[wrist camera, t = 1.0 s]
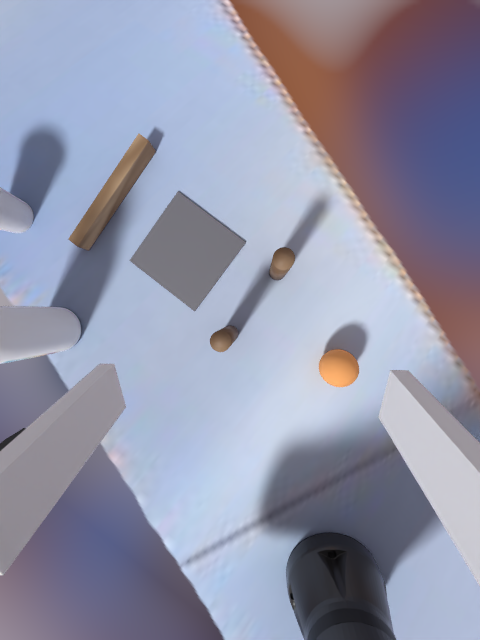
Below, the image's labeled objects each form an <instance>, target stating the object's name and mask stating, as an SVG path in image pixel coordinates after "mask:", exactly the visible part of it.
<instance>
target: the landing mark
mask: <svg viewBox="0 0 480 640" xmlns="http://www.w3.org/2000/svg"><path fill="white" fill-rule="evenodd" d="M245 243H246V242H245V241H243V240H242V239H241V238H239V237H238V236H237V235H235V234H234V233H233V232H231V231H230V230H229V229H227V228H226V227H225V226H223V225H222V224H221V223H219V222H218V221H217V220H216V219H214V218H213V217H212V216H210V215H209V214H208V213H206V212H205V211H204V210H202V209H201V208H200V207H198V206H197V205H196V204H194V203H193V202H192V201H190V200H189V199H188V198H186V197H185V196H184V195H182V194H181V193H180V192H177V193H176V195H175V196H174V198H173V199H172V201H171V202H170V204H169V205H168V206H167V208H166V209H165V211H164V212H163V214H162V215H161V216H160V218H159V219H158V221H157V222H156V224H155V225H154V226H153V228H152V229H151V231H150V232H149V234H148V235H147V236H146V238H145V239H144V241H143V242H142V244H141V245H140V246H139V248H138V249H137V251H136V252H135V254H134V255H133V256H132V258H131V259H130V261H131V262H132V263H133V264H135V265H136V266H137V267H138V268H140V269H141V270H142V271H144V272H145V273H146V274H147V275H149V276H150V277H151V278H153V279H154V280H155V281H156V282H158V283H159V284H160V285H162V286H163V287H164V288H165V289H167V290H168V291H169V292H171V293H172V294H173V295H174V296H176V297H177V298H178V299H180V300H181V301H182V302H183V303H185V304H186V305H187V306H189V307H190V308H191V309H192V310H194V311H195V310H196V309H197V308H198V306H199V305H200V304H201V302H202V301H203V300H204V298H205V297H206V295H207V294H208V293H209V291H210V290H211V289H212V287H213V286H214V285H215V283H216V282H217V281H218V279H219V278H220V277H221V275H222V274H223V273H224V271H225V270H226V269H227V267H228V266H229V265H230V263H231V262H232V261H233V259H234V258H235V256H236V255H237V254H238V252H239V251H240V250H241V248H242V247H243V246H244V244H245Z"/></svg>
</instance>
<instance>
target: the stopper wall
mask: <svg viewBox="0 0 480 640" xmlns="http://www.w3.org/2000/svg"><path fill="white" fill-rule="evenodd" d="M155 152H156V151H155V149H154V148H153V146H152V145H151V143H150V142H149V141H148V140H147V139H146V138H144V137H143V136H142V135H140V134H138V135H137V137H136V138H135V140H134V141H133V143H132V144H131V146H130V147H129V149H128V150H127V152H126V153H125V155H124V156H123V158H122V159H121V161H120V162H119V164H118V165H117V167H116V168H115V170H114V171H113V173H112V174H111V176H110V177H109V179H108V180H107V182H106V183H105V185H104V186H103V188H102V189H101V191H100V192H99V194H98V195H97V197H96V198H95V200H94V201H93V203H92V204H91V206H90V207H89V209H88V210H87V212H86V213H85V215H84V217H83V218H82V220H81V221H80V223H79V224H78V226H77V227H76V229H75V230H74V232H73V233H72V235H71V236H70V238H69V240H70V241H71V242H72V243H74V244H75V245H76V246H77V247H80V248H83V249H86V250H90V248H91V247H92V245H93V244H94V242H95V241H96V239H97V238H98V237H99V235H100V234H101V232H102V231H103V229H104V228H105V226H106V225H107V223H108V222H109V220H110V219H111V217H112V216H113V214H114V213H115V211H116V210H117V208H118V207H119V206H120V204H121V203H122V201H123V200H124V198H125V197H126V195H127V194H128V192H129V191H130V189H131V188H132V186H133V185H134V183H135V182H136V180H137V179H138V178H139V176H140V175H141V173H142V172H143V170H144V169H145V167H146V166H147V164H148V163H149V161H150V160H151V158H152V157H153V155H154V154H155Z"/></svg>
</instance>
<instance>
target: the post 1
mask: <svg viewBox="0 0 480 640" xmlns="http://www.w3.org/2000/svg"><path fill="white" fill-rule="evenodd" d="M237 337H238V330H237V329H236V328H235V327H234V326H227V327H225V328H223V329H221V330H219V331H217V332H215V333H214V334H213V335H212V336H211V338H210V344H211V347H212V348H213V349H214V350H215V351H218V352H223V351H226V350H227V349H228V348H229V347H230V346H231V345H232V343H233V342H234V341H235V340H236V338H237Z"/></svg>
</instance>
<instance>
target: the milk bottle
mask: <svg viewBox="0 0 480 640" xmlns="http://www.w3.org/2000/svg"><path fill="white" fill-rule="evenodd" d="M80 335H81V325H80V321H79V319H78V318H77V316H76V315H75V314H74V313H73V312H71V311H70V310H68V309H66V308H62V307H25V306H0V364H1V363H7V362H13V361H18V360H23V359H28V358H33V357H37V356H42V355H47V354H52V353H57V352H61V351H65V350H68V349H70V348H72V347H73V346H74V345H75V344H76V343H77V342H78V340H79V338H80Z"/></svg>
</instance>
